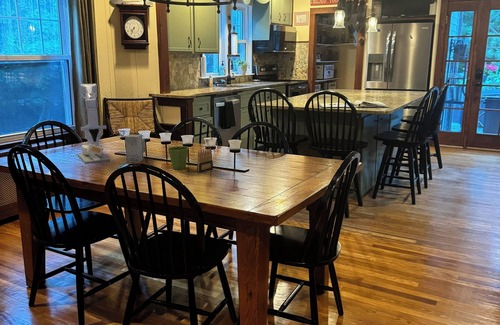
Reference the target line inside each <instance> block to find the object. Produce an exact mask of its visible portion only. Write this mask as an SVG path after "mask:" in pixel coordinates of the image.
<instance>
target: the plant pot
mask: <svg viewBox="0 0 500 325" xmlns="http://www.w3.org/2000/svg"><path fill="white" fill-rule="evenodd" d="M189 149H190V147H189V146H184V145H181V146H180V145H179V146H178V145H177V146H171V147H168V148H167V152H168V154H169V158H170V162H171V166H172V169H173V170H184V169H186V167H187V161H188V160H187V158H188V153H189Z"/></svg>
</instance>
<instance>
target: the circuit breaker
mask: <svg viewBox="0 0 500 325" xmlns="http://www.w3.org/2000/svg"><path fill="white" fill-rule="evenodd" d="M124 144H125V150H126V153H125V160H126V161H125V162H127V163H140V162H141V161H143V160H144V153H146V140H145V139H143V134H130V133H129V134H127V135H126V136H125V139H124Z"/></svg>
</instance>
